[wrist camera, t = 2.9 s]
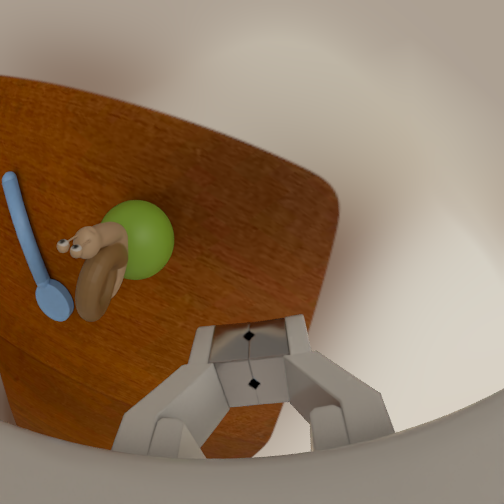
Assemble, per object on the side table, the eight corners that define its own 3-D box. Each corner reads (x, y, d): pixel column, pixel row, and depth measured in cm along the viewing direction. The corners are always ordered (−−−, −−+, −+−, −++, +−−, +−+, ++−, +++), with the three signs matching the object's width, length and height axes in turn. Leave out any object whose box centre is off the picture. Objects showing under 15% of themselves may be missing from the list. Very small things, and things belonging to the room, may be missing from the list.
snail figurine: (193, 191, 21) (128, 267, 10) (173, 267, 23) (118, 379, 12) (125, 171, 20) (17, 225, 9) (112, 246, 23) (29, 338, 12)
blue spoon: (0, 176, 20) (-11, 181, 19) (27, 162, 20) (15, 166, 18) (51, 316, 26) (44, 325, 25) (80, 315, 26) (73, 324, 24)
